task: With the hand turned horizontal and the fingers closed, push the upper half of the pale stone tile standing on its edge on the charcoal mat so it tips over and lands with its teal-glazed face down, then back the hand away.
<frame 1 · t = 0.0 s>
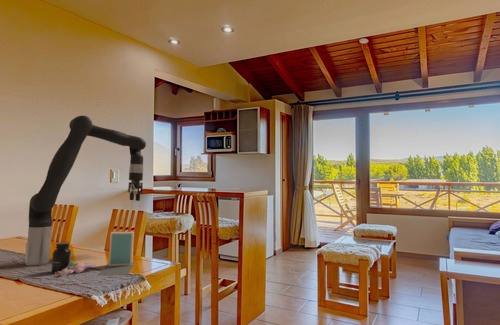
hand: (134, 200, 181), 29 cm above the table, tool pointing down, fingers open, 8 cm apart
rabbit figure: (75, 274, 132), on the table
supplement bottle: (60, 272, 135), on the table
mat: (117, 269, 140), on the table
tile: (120, 264, 146), point 1 cm above the table, touching mat
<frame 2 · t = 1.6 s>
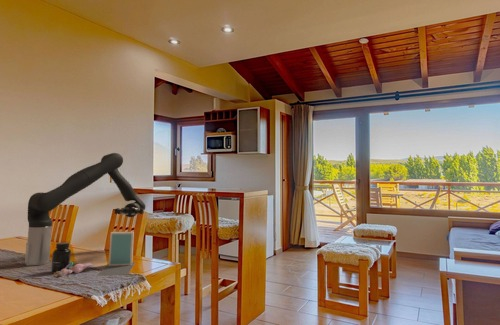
hand: (127, 212, 159), 24 cm above the table, tool horizontal, fingers open, 7 cm apart
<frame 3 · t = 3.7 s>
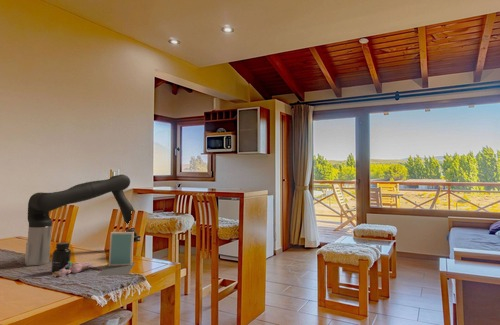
hand: (125, 241, 157), 10 cm above the table, tool horizontal, fingers closed
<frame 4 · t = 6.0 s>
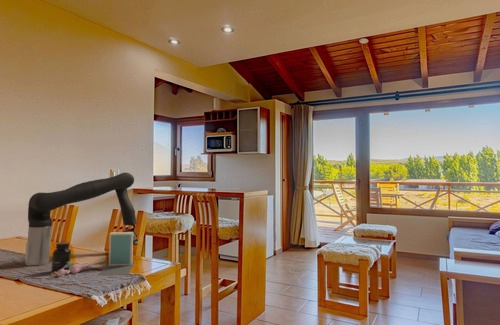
hand: (121, 245, 147), 10 cm above the table, tool horizontal, fingers closed
tile: (120, 264, 146), point 1 cm above the table, tilted 8°, touching mat
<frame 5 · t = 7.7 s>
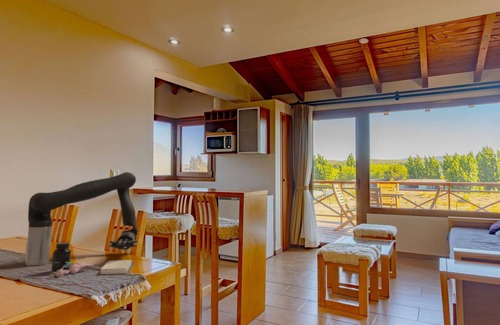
hand: (120, 247, 143), 10 cm above the table, tool horizontal, fingers closed
tile: (120, 262, 145), point 2 cm above the table, tilted 90°, touching mat
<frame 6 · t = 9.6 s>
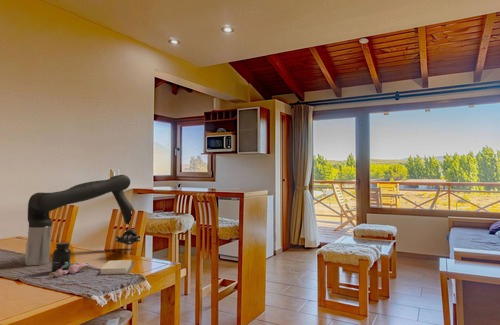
hand: (125, 241, 157), 10 cm above the table, tool horizontal, fingers closed
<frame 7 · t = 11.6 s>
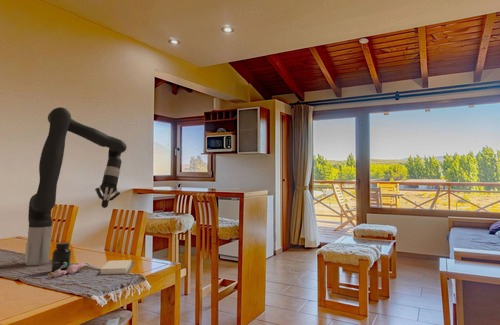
hand: (104, 207, 165), 26 cm above the table, tool pointing down, fingers closed
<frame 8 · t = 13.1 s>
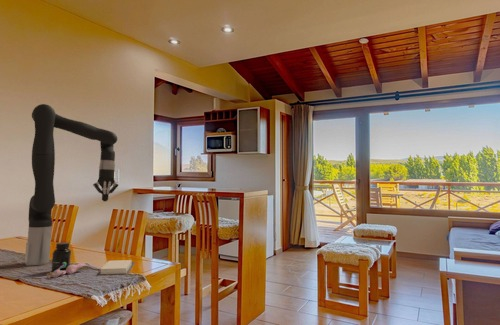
hand: (104, 201, 168), 29 cm above the table, tool pointing down, fingers closed
at the end: tile tilted 90°; tile inside the target area on the mat (5.1 cm from its centre), point 1.8 cm above the mat's base; the gripper is holding nothing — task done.
